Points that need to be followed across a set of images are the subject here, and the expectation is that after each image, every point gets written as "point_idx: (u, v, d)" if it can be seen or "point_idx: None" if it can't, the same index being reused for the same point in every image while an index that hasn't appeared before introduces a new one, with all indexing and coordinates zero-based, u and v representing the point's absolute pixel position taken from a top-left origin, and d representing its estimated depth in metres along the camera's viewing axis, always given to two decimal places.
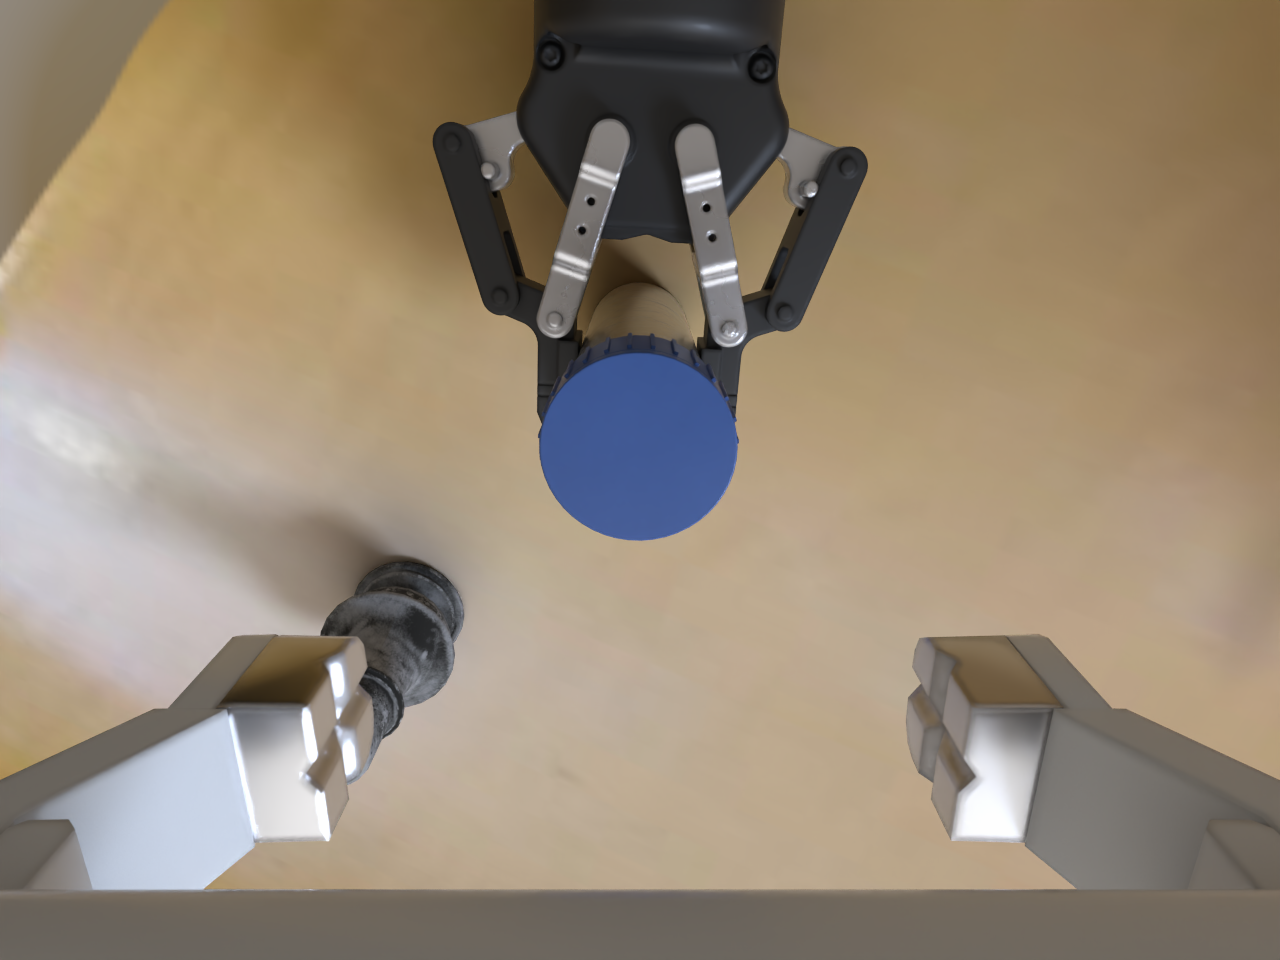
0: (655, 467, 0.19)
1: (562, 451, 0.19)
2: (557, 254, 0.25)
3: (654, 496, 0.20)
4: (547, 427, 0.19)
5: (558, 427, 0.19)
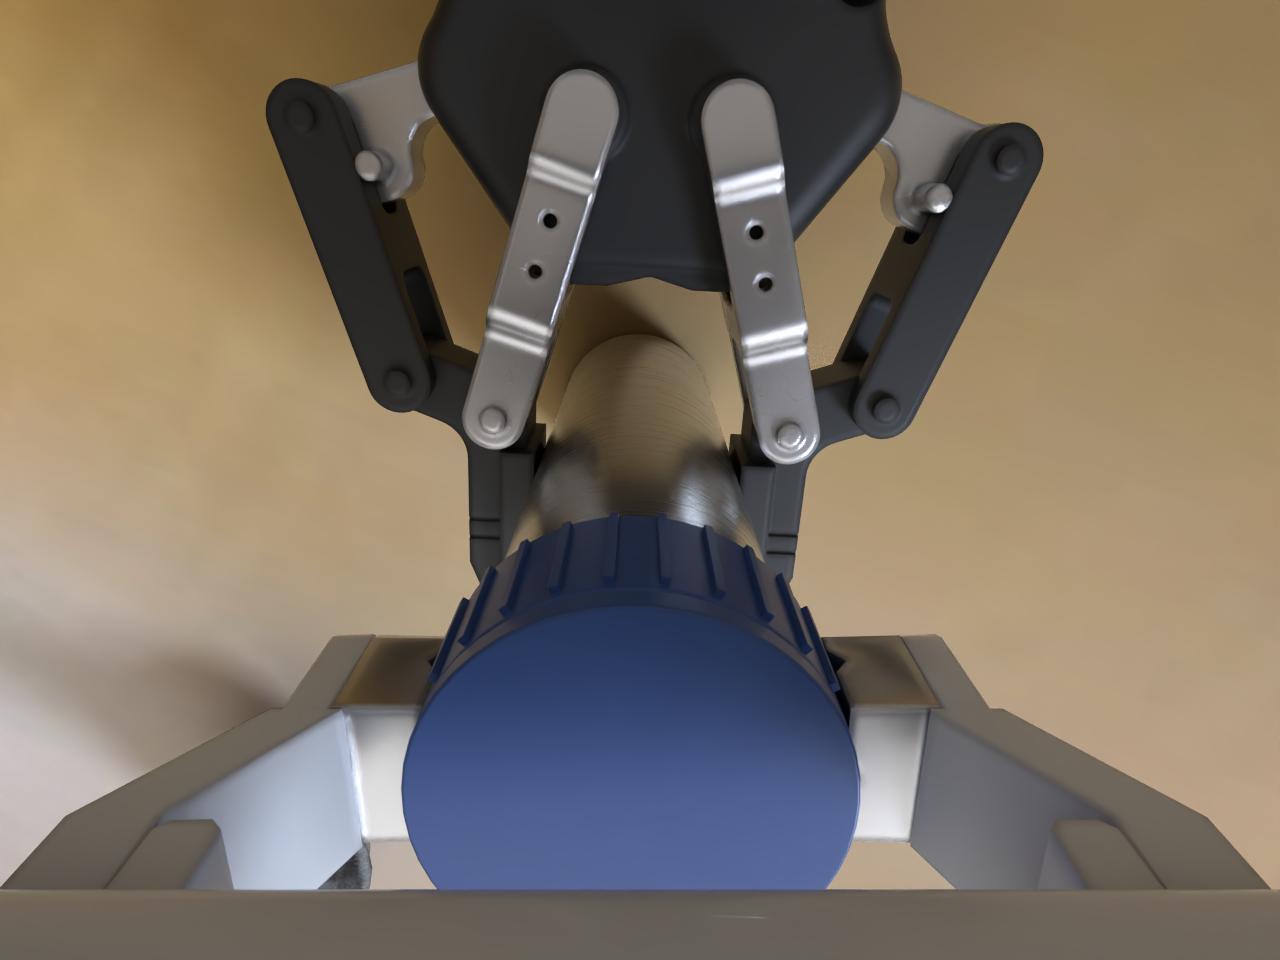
0: (670, 841, 0.08)
1: (455, 811, 0.08)
2: (492, 313, 0.14)
3: None
4: (417, 764, 0.08)
5: (443, 764, 0.08)
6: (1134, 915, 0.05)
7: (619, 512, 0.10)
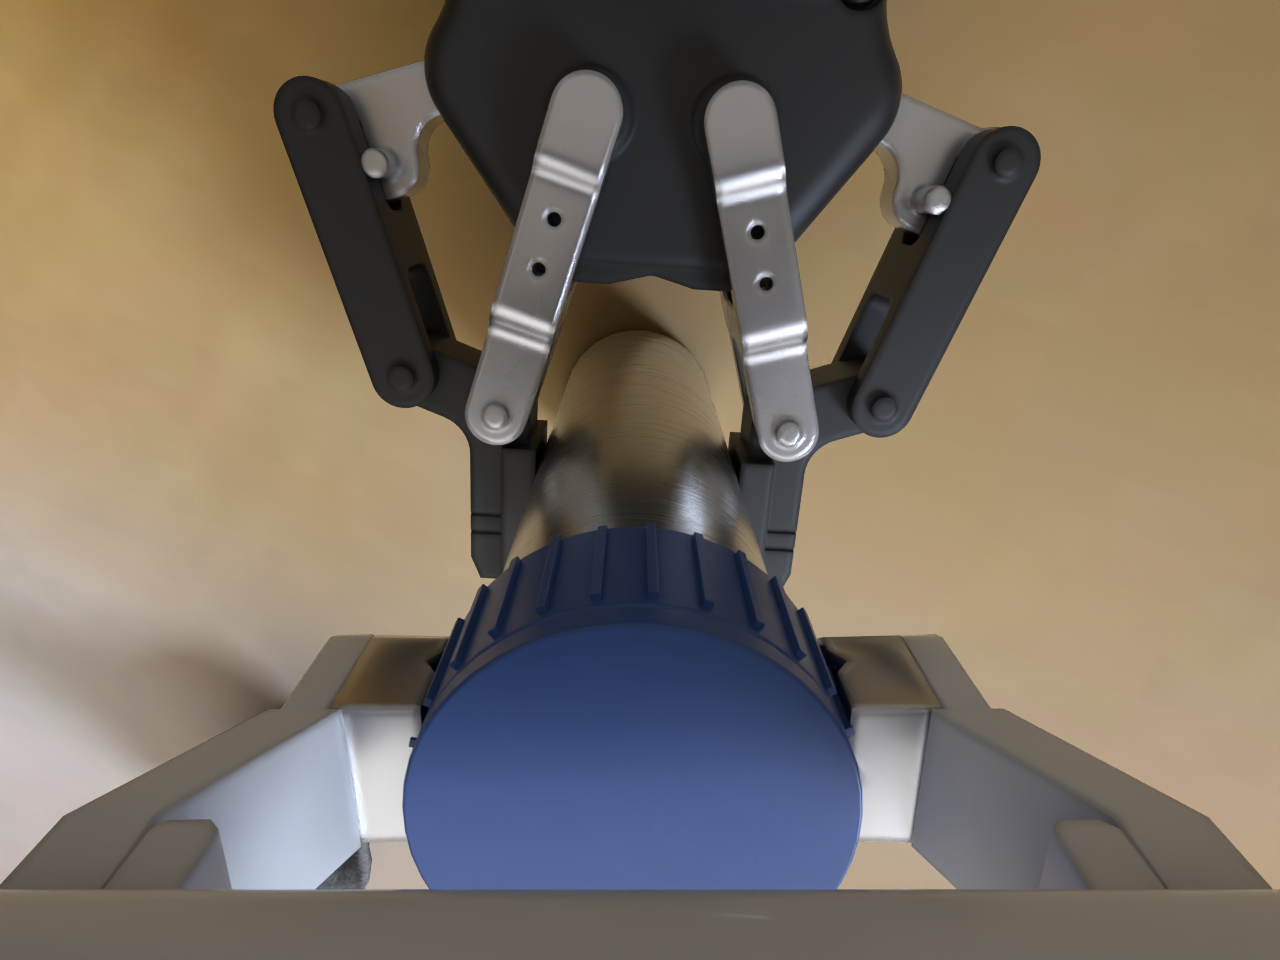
0: (679, 796, 0.08)
1: None
2: (496, 310, 0.15)
3: (751, 805, 0.08)
4: None
5: None
6: (1134, 915, 0.05)
7: (622, 513, 0.11)
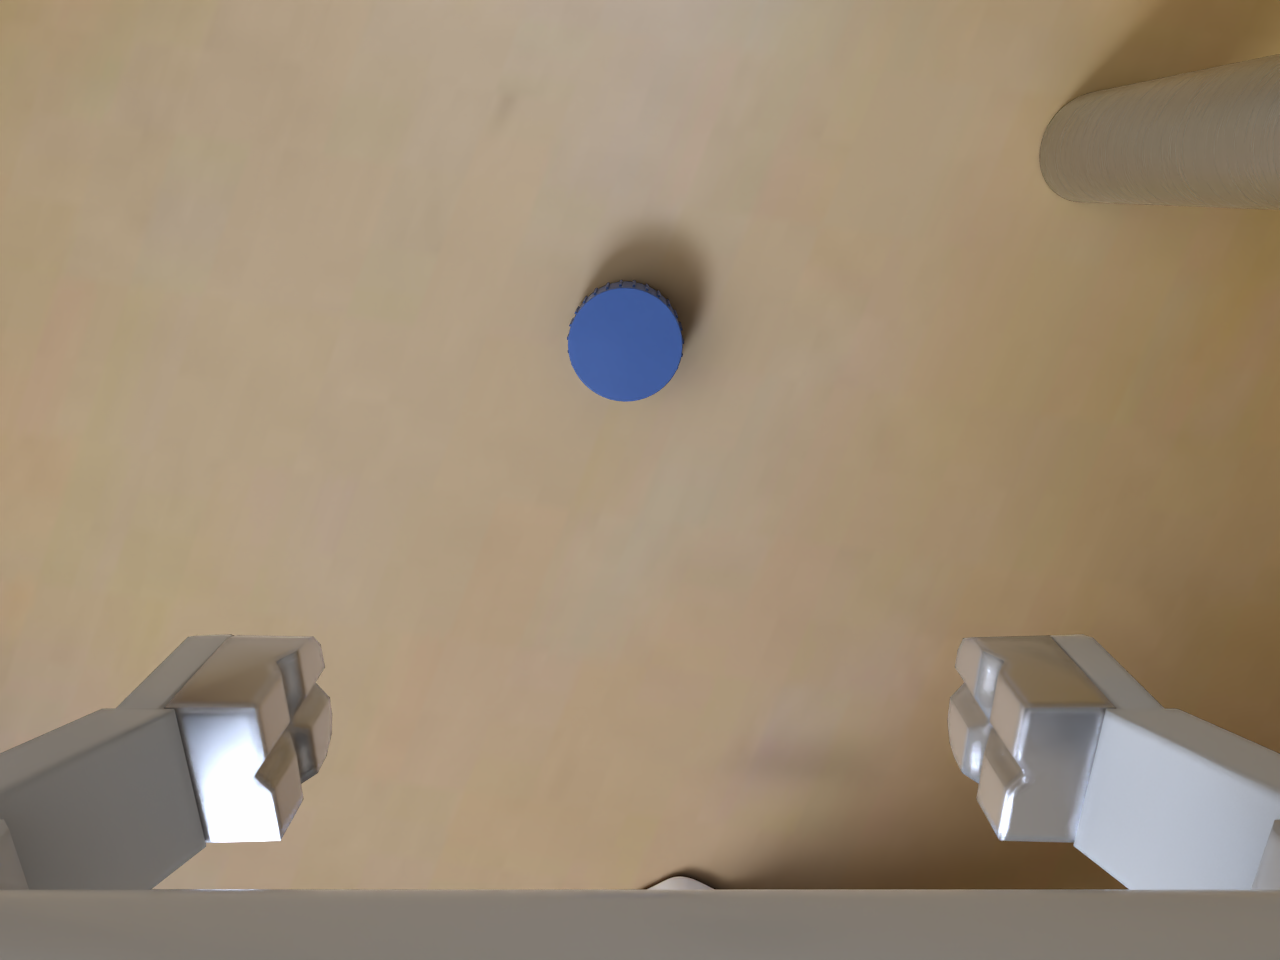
0: (637, 338, 0.33)
1: (618, 388, 0.34)
2: None
3: (654, 341, 0.33)
4: (602, 393, 0.34)
5: (603, 387, 0.34)
6: (1134, 915, 0.05)
7: None
